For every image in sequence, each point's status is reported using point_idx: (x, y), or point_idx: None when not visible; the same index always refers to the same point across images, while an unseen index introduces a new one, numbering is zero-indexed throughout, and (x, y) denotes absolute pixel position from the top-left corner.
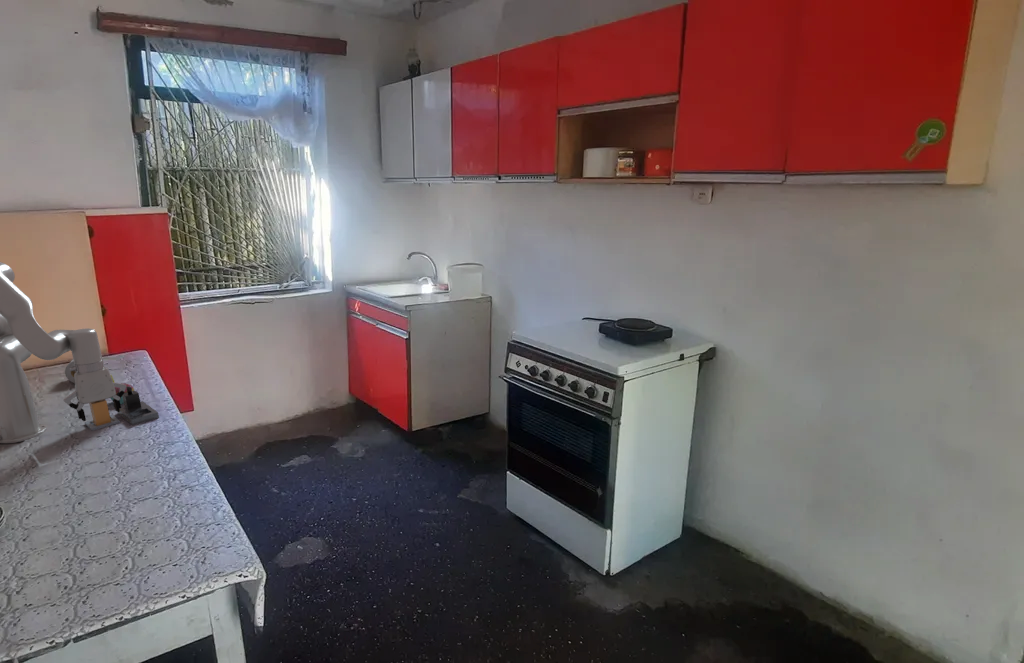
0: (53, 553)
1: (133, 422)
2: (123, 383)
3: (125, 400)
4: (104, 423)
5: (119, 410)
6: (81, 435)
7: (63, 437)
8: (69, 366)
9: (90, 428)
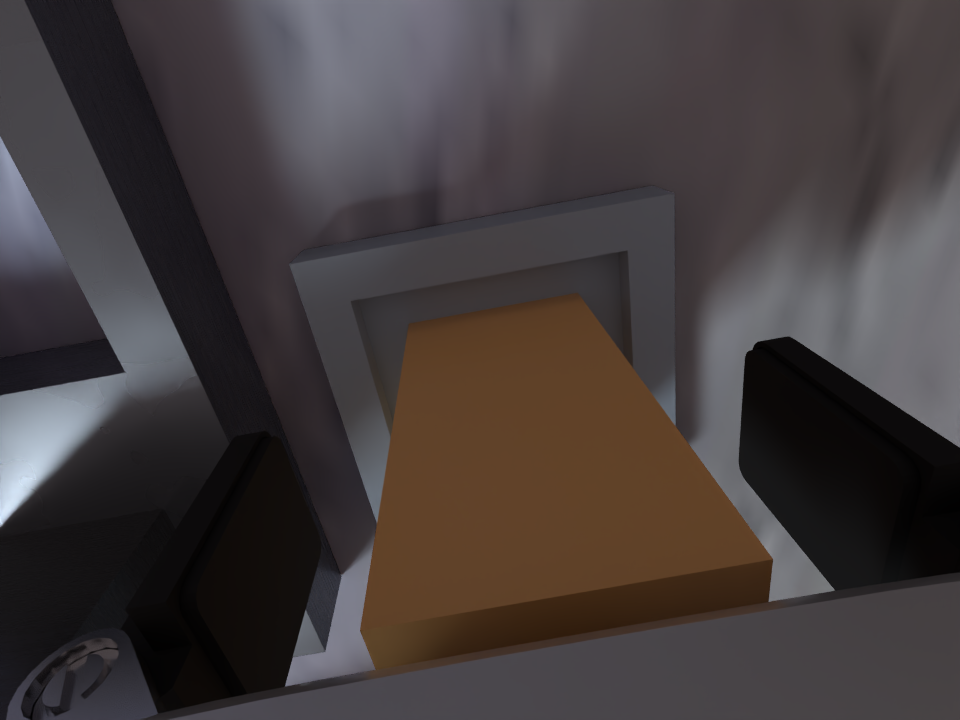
0: None
1: None
2: None
3: None
4: (489, 316)
5: (234, 443)
6: (785, 142)
7: (946, 234)
8: None
9: (668, 249)
